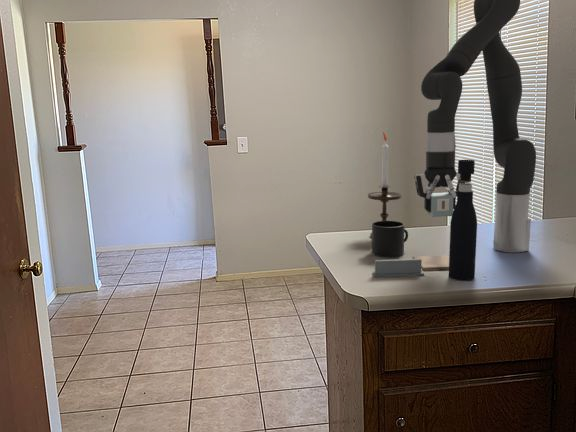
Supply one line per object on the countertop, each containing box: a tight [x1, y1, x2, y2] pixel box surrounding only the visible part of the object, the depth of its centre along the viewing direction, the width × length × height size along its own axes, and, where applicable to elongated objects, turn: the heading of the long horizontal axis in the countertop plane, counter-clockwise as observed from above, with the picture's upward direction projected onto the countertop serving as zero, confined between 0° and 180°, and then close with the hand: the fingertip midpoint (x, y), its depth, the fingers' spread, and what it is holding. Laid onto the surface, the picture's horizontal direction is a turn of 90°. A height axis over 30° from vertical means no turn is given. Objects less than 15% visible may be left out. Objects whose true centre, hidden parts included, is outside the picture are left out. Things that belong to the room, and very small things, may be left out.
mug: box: [371, 220, 409, 258], centre depth 168 cm, size 9×12×9 cm
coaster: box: [412, 254, 449, 271], centre depth 156 cm, size 11×11×1 cm
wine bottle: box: [448, 159, 478, 282], centre depth 142 cm, size 6×6×30 cm
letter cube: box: [426, 191, 454, 218], centre depth 153 cm, size 6×6×6 cm
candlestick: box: [367, 131, 402, 239], centre depth 185 cm, size 11×11×35 cm
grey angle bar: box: [372, 258, 425, 278], centre depth 147 cm, size 13×3×4 cm, turn 92°
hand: (439, 211), depth 153 cm, fingers closed on letter cube, 5 cm apart
